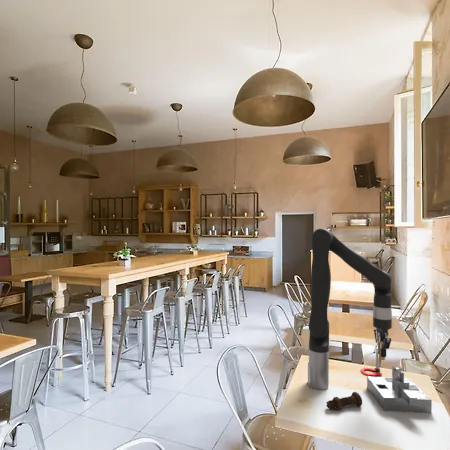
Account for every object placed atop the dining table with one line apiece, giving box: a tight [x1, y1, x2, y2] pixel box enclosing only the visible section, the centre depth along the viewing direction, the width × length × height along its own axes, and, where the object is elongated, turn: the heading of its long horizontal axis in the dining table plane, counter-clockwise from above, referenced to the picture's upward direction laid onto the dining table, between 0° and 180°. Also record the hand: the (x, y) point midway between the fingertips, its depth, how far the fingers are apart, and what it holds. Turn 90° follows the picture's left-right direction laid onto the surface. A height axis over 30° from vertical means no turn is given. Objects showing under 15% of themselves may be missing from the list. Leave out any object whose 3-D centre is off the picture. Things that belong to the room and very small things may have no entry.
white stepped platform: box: [366, 365, 433, 414], centre depth 141 cm, size 19×24×14 cm
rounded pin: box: [378, 348, 386, 361], centre depth 144 cm, size 2×2×10 cm
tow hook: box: [360, 347, 383, 377], centre depth 170 cm, size 8×13×9 cm
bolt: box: [326, 391, 363, 411], centre depth 137 cm, size 6×5×15 cm
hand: (382, 355), depth 144 cm, fingers closed on rounded pin, 2 cm apart
